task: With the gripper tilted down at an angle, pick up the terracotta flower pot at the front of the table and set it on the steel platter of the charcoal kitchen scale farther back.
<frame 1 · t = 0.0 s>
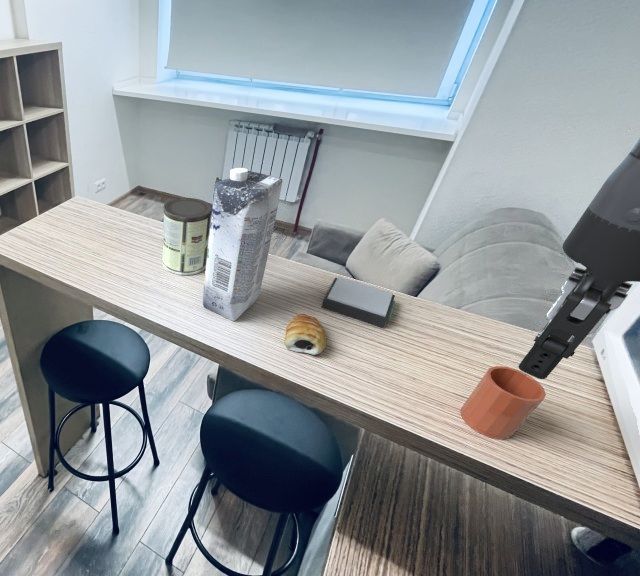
hand: (542, 354, 44), 18 cm above the table, tool pointing down, fingers open, 8 cm apart
pastry: (302, 340, 72), on the table
coffee can: (183, 264, 94), on the table
terracotta flower pot: (485, 421, 58), on the table
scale: (356, 305, 80), on the table
juice carton: (229, 305, 81), on the table
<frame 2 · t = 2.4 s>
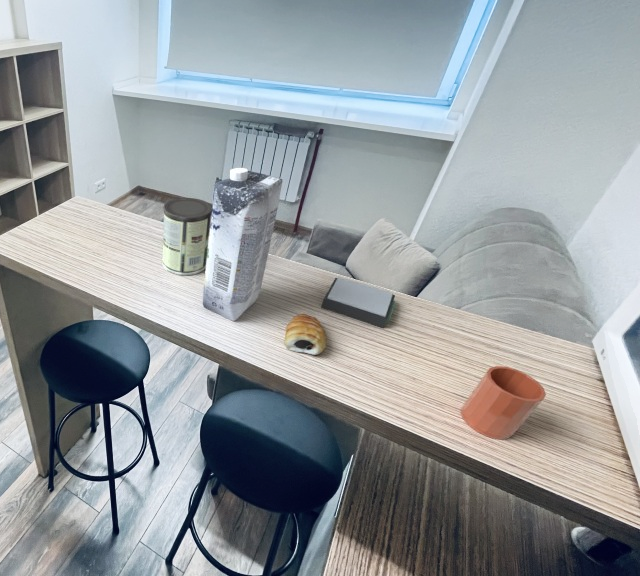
nothing on the table moved.
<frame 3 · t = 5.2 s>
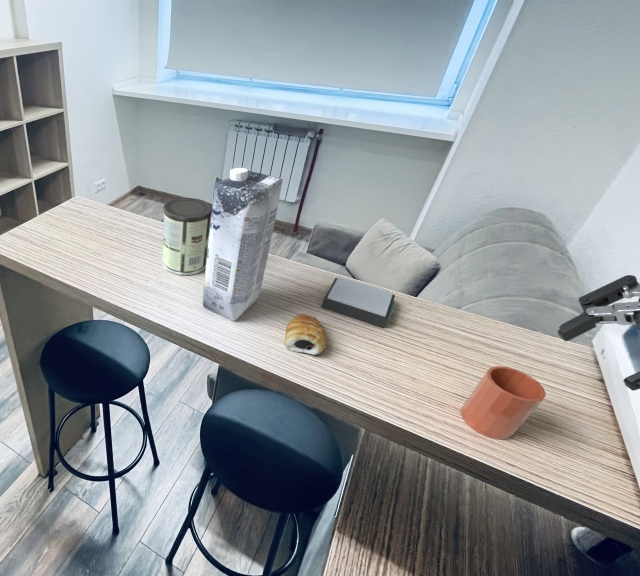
hand: (592, 359, 51), 12 cm above the table, tool tilted 45°, fingers open, 8 cm apart
nothing on the table moved.
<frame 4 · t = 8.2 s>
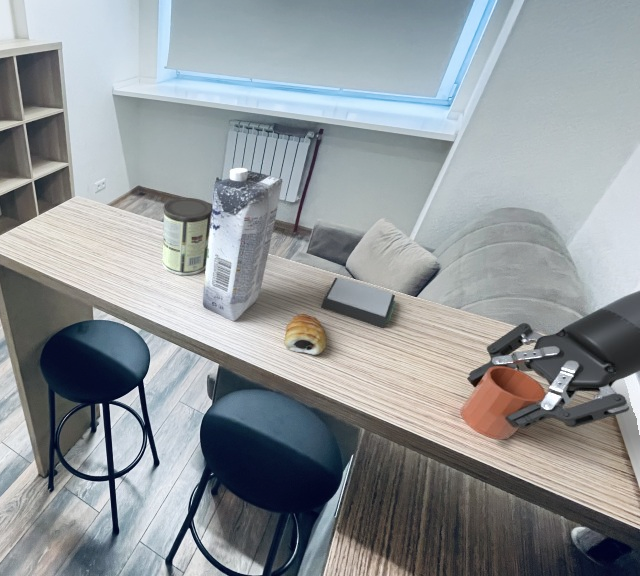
hand: (489, 402, 55), 4 cm above the table, tool tilted 45°, fingers closed on terracotta flower pot, 6 cm apart
terracotta flower pot: (485, 421, 58), on the table, touching gripper
everything else where it was.
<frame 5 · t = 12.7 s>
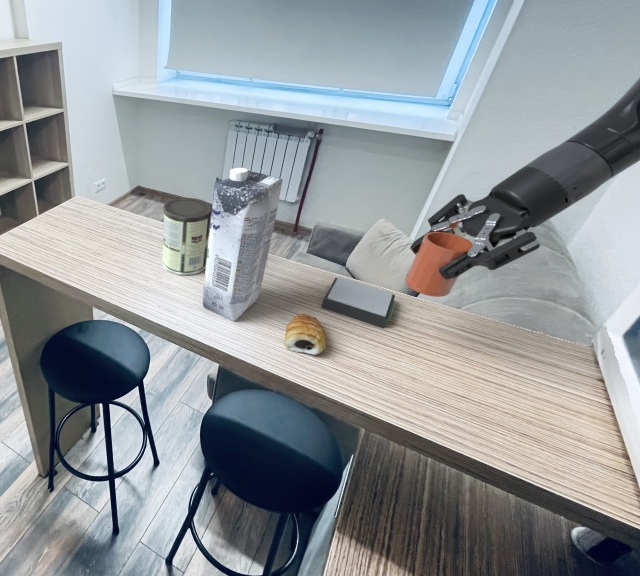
hand: (427, 262, 62), 16 cm above the table, tool tilted 45°, fingers closed on terracotta flower pot, 6 cm apart
terracotta flower pot: (426, 285, 64), point 12 cm above the table, touching gripper
everything else where it was.
when the fingers open (7 cm above the table, at t = 17.2 s): terracotta flower pot stays where it is, resting on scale.
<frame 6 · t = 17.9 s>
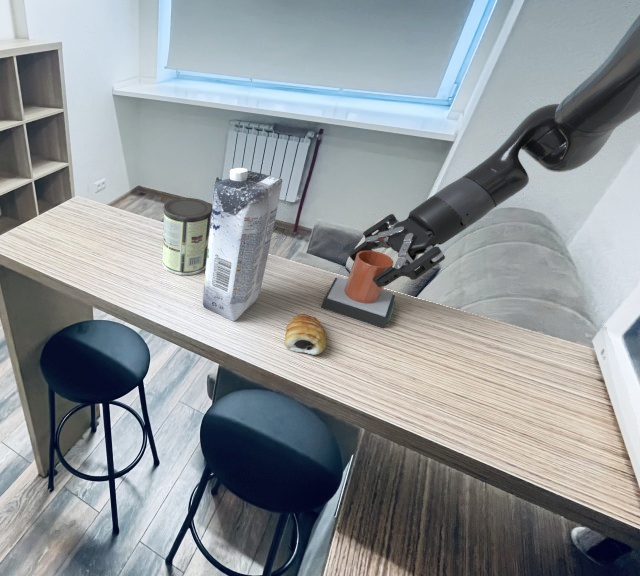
hand: (363, 270, 75), 8 cm above the table, tool tilted 45°, fingers open, 8 cm apart
terracotta flower pot: (361, 294, 79), point 3 cm above the table, touching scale
everything else where it was.
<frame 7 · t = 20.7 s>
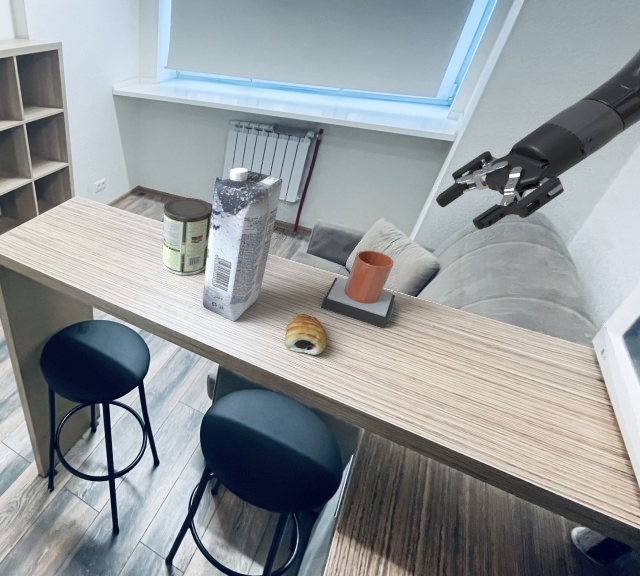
hand: (456, 214, 67), 20 cm above the table, tool tilted 45°, fingers open, 8 cm apart
nothing on the table moved.
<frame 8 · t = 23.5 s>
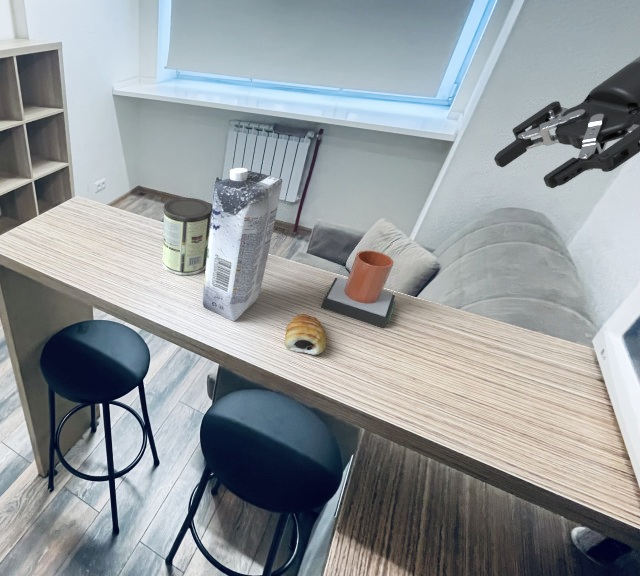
hand: (520, 172, 59), 29 cm above the table, tool tilted 45°, fingers open, 8 cm apart
nothing on the table moved.
at the end: terracotta flower pot 0.1 cm off-centre on the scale, point 2.8 cm above the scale's base; terracotta flower pot tilted 0°; the gripper is holding nothing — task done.
